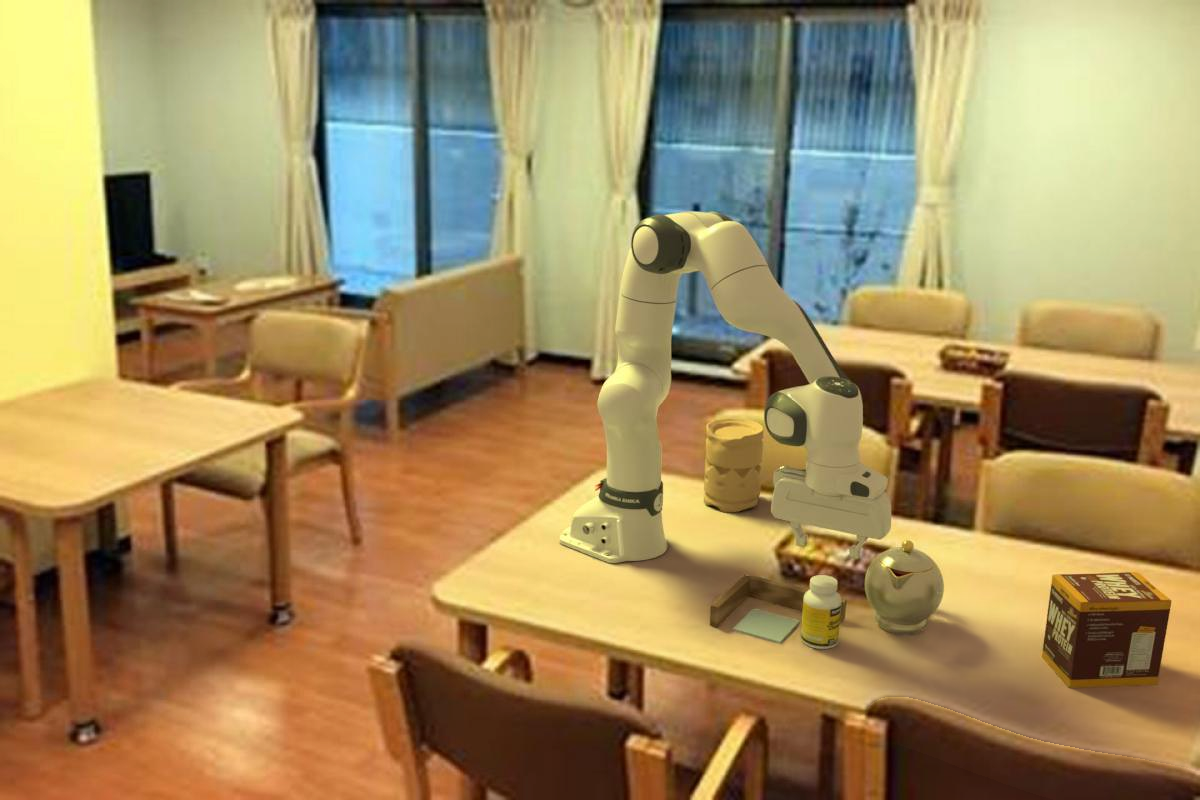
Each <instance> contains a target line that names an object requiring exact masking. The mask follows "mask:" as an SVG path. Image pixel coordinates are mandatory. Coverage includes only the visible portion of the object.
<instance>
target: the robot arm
mask: <svg viewBox="0 0 1200 800" xmlns="http://www.w3.org/2000/svg"><path fill="white" fill-rule="evenodd" d="M630 246H631V247H630V249H629V251H628V255H627V257H626V261H625V264H624V266H623V271H622V272H623V273H622V276H621V281H620V288H619V295H618V302H617V311H616V320H615V329H614V332H615V336H616V341H617V363H616V367H615V370H614V371H613V373H612V374H611V375H610V376H609V377H608V378H607V379H605V381H604V383H603V384H602V386H601V388H600V391H599V395H598V399H597V402H596V403H597V412H598V414H599V416H600V418H601V419H602V420H601V421H602V425H603V426H602V427H603V430H604V437H605V442H606V443H605V444H606V477H604V478H602V479H601V480H600V481H599V483H597V484H595V485H594V487H595V489H594V491H595V492H596V491H598V490H599V493H598V494H597V495H596V496H595V497H593V498H591V499H590V500H588V501H587V502H586V503H584V504H582V505H581V506H580V507H578V508H577V510H576V511H575V512H574V514H573V516H572V519H571V523H570V526H568V527H567V528H565V529H564V530H563V531H562V532H561V533H560V534H559V542H558V543H560V545H563V546H566V547H568V548H570V549H573V550H575V551H578V552H581V553H583V554H586V555H588V556H591V557H593V558H595V559H599V560H601V561H604V562H606V563H608V564H617V563H623V562H630V561H633V562H634V561H635V562H636V561H638V562H639V561H647V560H650V559H654V558H657V557H659V556H661V555H663V554H664V553H665V552H666V551H667V550H668V543H667V540H666V536H665V531H664V525H663V514H662V513H663V512H662V510H663V506H664V482H663V481H662V465H663V464H662V462H663V459H662V458H663V446H662V443H661V441H660V436H659V432H658V431H659V430H658V424H657V423H658V421H657V417H658V410H659V407H660V406H661V404H662V403H663V402H664V401H665V399H666V398H667V397H668V395H669V393H670V390H671V389H670V388H671V384H672V334H673V328H674V320H675V314H676V306H677V299H678V289H679V283H680V282H679V281H680V278H681V277H682V275H683V274H691V273H695V272H700V273H701V274H702V275H703V277H704V279H705V281H706V284H707V287H708V289H709V292H710V294H711V295H710V296H711V297H712V299H713V302H714V304H715V306H716V309H717V311H718V312H719V313H720V315H721V316H722V318H723V319H724V320H725V322H726V323H727V324H729V325H731V326H732V327H734V328H736V329H738V330H740V331H744V332H749V333H755V334H759V335H763V336H766V337H770V338H772V339H775V340H777V341H779V343H781V344H783V345H784V346H785V347H786V348H787V349H788V350H789V351H790V353H791V354H792V356H793V357H794V360H795V361H796V363H797V365H798V366H799V368H800V370H801V371H802V373H803V374H804V376H805V378H806V380H807V382H808V384H806V385H800V386H793V387H789V388H785V389H781V390H778V391H776V392H774V393H772V394H771V395H769V397H768V398H767V400H766V403H765V406H764V409H763V410H764V411H763V413H764V414H763V419H764V420H763V421H764V424H765V428H766V431H767V432H768V434H769V436H770V437H771V438H773V440H774V441H776V442H777V443H779V444H780V445H785V446H788V447H789V446H791V447H802V448H805V450H806V456H805V469H803V468H798V467H797V468H796V467H791V466H788V465H783V466H781V467H778V468H776V469H775V470H774V472H773V475H772V477H773V479H772V484H773V487H774V489H773V493H772V498H771V505H770V512H771V514H772V516H773V517H774V518H775V519H778V520H779V519H780V520H783V521H788V522H790V529H791V531H792V533H793V534H794V537H795V546H796V547H801V548H805V547H806V546H808V543H809V541H808V539H809V535H808V534H805V533H804V531H803V528H802V527H801V525H806V526H811V527H812V526H813V527H817V528H820V529H821V528H822V529H827V530H831V531H834V532H835V531H837V532H841V533H846V534H850V535H854V536H856V539H855V540H856V541H857V542H858V543H857V544H852V545H851V546H849V549H848V552H849V554H848V557H849V558H851V559H856V560H858V559H859V558H860V557H861V554H862V553H861V552H862V547H863V545H864V544H865V543H866V542H867V541H868V539H874V540H883V539H884V538H885V537H886V536H888V534H889V533H890V531H891V529H892V505H891V499H890V496H889V495H888V493H887V492H886V491H885V490H886V489H887V487H888V483H889V481H888V480H889V479H888V478H887V476H885V475H884V474H882V473H880V472H878V471H876V470H874V469H872V468H870V467H868V466H867V465H865V464H863V463H862V462H861V454H860V448H859V447H860V442H861V440H862V436H863V422H864V416H863V415H864V412H863V411H864V409H863V408H864V405H863V397H862V394H861V391H860V388H859V387H858V385H856V383H854V382H853V381H851V379H849V377H848V376H847V375H846V374H845V373H844V372H843V370H842V368H841V367H840V366H839V364H838V362H837V361H836V359H835V357H834V356H833V355H832V353H831V351H830V350H829V348H828V346H827V345H826V342H825V341H824V340H823V338H822V336H821V335H820V333H819V331H818V330H817V327H816V326H815V325H814V323H813V322H812V320H811V318H810V317H809V315H808V314H807V313H806V311H805V309H804V308H803V307H802V306H801V305H800V304H799V303H798V302H797V301H795V300H794V299H792V298H791V297H790V296H789V295H788V294H787V293H786V292H785V291H784V289H783V288H782V287H781V286H780V285H779V283H778V282H777V280H776V279H775V278H774V275H773V274H772V272H771V270H770V268H769V265H768V263H767V261H766V259H765V257H764V255H763V253H762V251H761V249H760V248H759V246H758V244H757V242H756V241H755V239H754V238H753V236H752V235H751V234H750V232H749V231H748V229H747V228H746V227H745V226H744V225H743V224H741V223H740V222H738V221H734V219H732V218H731V217H729V216H728V215H726V214H723V213H720V212H716V211H708V212H703V211H682V212H677V213H676V212H675V213H669V214H655V215H652V216H649V217H646V218H644V219H642V220H640V221H639V222H638V223H637V225H636V226H635V227H634V229H633V232H632V236H631V242H630Z"/></svg>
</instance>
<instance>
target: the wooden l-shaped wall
mask: <svg viewBox="0 0 1200 800" xmlns="http://www.w3.org/2000/svg"><path fill="white" fill-rule="evenodd" d="M808 590H810V589H809V588H805V587H802V586H797V585H793V584H789V583H785V582H781V581H777V580H773V579H770V578H766V577H761V576H758V575H754V574H749V575H747V574H744V575H742V576H741V577H740V578H739V579H738V580H737V581H736V582H735V583H734V584H732V586H730V587H729V588H728V589H727V590H726V591H725V592H724V593H722V594H721V595H720V596H719V597H718V598H717V599H716V600H715V601H714V602H712V604H710V609H709V613H710V614H709V626H710V627H714V628H717V629H718V628H719V627H720V626H721V625H722V624H723V623H724V622H726V621H727V619H729V617H731V615H733V614H734V613H735V612H736V611H737V610H738V609H739V608H740V607H741V606H742V605H743V604H744V603H745V602H746V601H747V600H748V599H752V600H757V601H759V602H763V603H767V604H773V605H775V606H779V607H784V608H786V609H789V610H794V611H797V612H802V613H803V599H804V595H805V593H806V592H807V591H808ZM841 600H842V602H841V615H840V623H843V622H844V621H845V620H846V613H847V602H848V601H847V598H845V597H841Z"/></svg>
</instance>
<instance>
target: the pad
mask: <svg viewBox="0 0 1200 800" xmlns="http://www.w3.org/2000/svg"><path fill="white" fill-rule="evenodd" d="M799 624H800V620H798V619H796V618H791V617H788V616H787V617H786V616H783V615H779V614H776V613H773V612H769V611H765V610H761V609H757V608H752V609H751V610H750V611H749V612H748V613H747V614H746V615H745V616H744V617H743V618H742V619H740V621H739V622H737V624H736V625H735V626H734V627H732V631H733V632H737V633H740V634H745V635H747V636H751V637H755V638H759V639H762V640H765V641H768V642H772V643H776V644H779V645H780V644H782V643H783V641H784V640H785V639H786V638H787V637H788V636H789V635H790V634H791V633H792V631H793V630H795V628H796V627H797V626H798V625H799Z"/></svg>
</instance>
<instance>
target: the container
mask: <svg viewBox="0 0 1200 800" xmlns="http://www.w3.org/2000/svg"><path fill="white" fill-rule="evenodd" d="M705 428H706V430H705V431H706V437H707V438H706V440H705V461H704V480H703V481H704V482H703V483H704V486H703V491H704V494H703V503H704V505H706V506H712V507H713V506H714V507H716V508H718V509H719V510H720V511H721V512H722V513H727V514H729V513H731V514H732V513H736V514H737V513H740V512H742V511H746V510H748V509H751V508H755V507H757V505H758V503H759V502H758V501H759V497H760V495H761V476H760V474H761V471H762V470H761V469H762V467H761V465H760V464H762V462H763V449H764V445H763V444H764V442H763V439H764V431H765V429H764V426H763V425H762V424H760V423H759V422H757V421H754V420H752V419H748V418H747V419H746V418H741V417H723V418H718V419H717V418H716V419H714V420H712V421H710V422H708V423H706V427H705Z"/></svg>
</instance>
